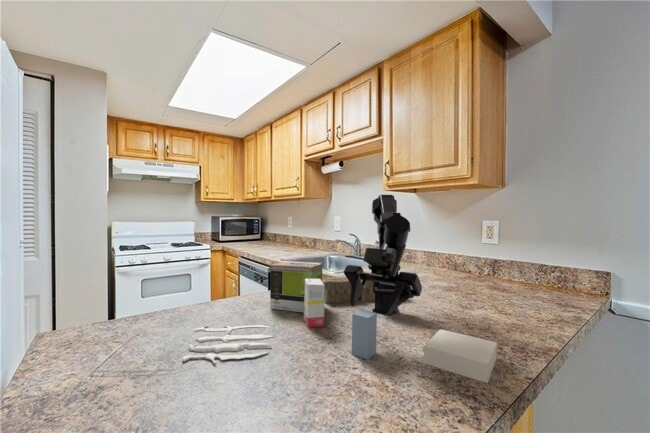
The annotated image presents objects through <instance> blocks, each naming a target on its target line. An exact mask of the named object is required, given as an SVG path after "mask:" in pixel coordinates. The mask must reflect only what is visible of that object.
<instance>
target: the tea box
mask: <svg viewBox="0 0 650 433" xmlns="http://www.w3.org/2000/svg"><path fill="white" fill-rule="evenodd" d="M269 274H270V281H269V282H270V287H269V288H270V290H269V291H270V293H269V296H270V298H269V300H270V301H269V302H270V303H269V304H270V305H269V307H270V309H272V310H278V311H279V310H281V311H287V312H297V313H304V296H305V279H321V281H322V277H323V263H322V262H312V261H311V262H310V261H308V262H307V261H291V260H283V261H279V262H276V263H273V264H270V273H269Z"/></svg>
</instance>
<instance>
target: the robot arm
mask: <svg viewBox="0 0 650 433" xmlns="http://www.w3.org/2000/svg"><path fill="white" fill-rule="evenodd" d="M397 202H398V201H397V200H396V199H395V195H393V194H378V197H376V198H375V199H373V200H372V203H371V214H372V215H373V220H374V222H375V223H376V224H377V229H376V230H377V234H378V248H374V247H366V248H365V251H364V256H363V262H365V263H367V264H368V265H367V268H368V270H369V272H368V271H364V270H363V267H362V266H361V265H355V264H347V265H346V266H345V268H344V270H343V275H344V277H347V279H348V280H349V282H350V284H351V302H350V307H352V308H354V307H355V305H356V304H357V303H358V301H359V300H360V299H359V297H360V295H361V294H362V292H363V290H364V287H363V285H365V284H366V280H367V281H373V283H372V290H373V293H375V300H374V308H373V309H372V311H371V312H374V313H377V314H381V315H387V316H392V315H394V314H396V313H397V312H398V311H399V310H400V309H399V307H400V306H401V305H402V304H404V303H405V302H406V301H408V300H409V299H414V297H421V294H422V291H423V286H422V283H421V281H420V278H419V276H418V274H417V273H416V272H410V271H409V272H408V271H401V265H400V263H401V261H402V258H403V255H404V253H405V250H406V247H407V245H406V244H407V241H408V236H409V232H411V222H410V221H409V220H408V219H407V218H406V217H404V216H403V215H401V214H402V213H401V212H397V211H398V208H397V207H398V205H397V204H398V203H397ZM370 271H371V272H370ZM375 287H377V288H375ZM399 312H400V311H399Z"/></svg>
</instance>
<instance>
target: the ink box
mask: <svg viewBox="0 0 650 433" xmlns="http://www.w3.org/2000/svg"><path fill="white" fill-rule="evenodd" d="M324 294H325V285H324V284H323V282H322V281H321V279H305V296H304V312H303V319H304V322H305V324H306V327H307V328H319V327H320V328H323V327H325V301H324Z"/></svg>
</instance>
